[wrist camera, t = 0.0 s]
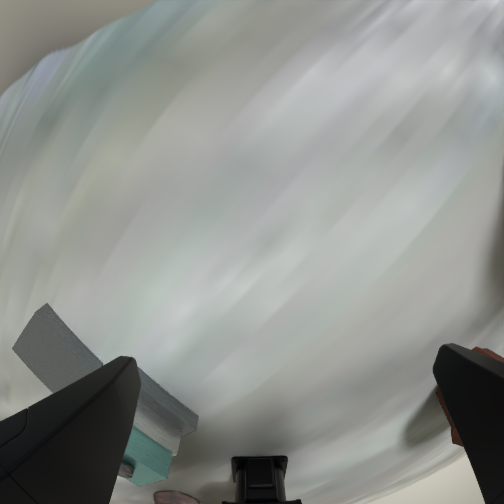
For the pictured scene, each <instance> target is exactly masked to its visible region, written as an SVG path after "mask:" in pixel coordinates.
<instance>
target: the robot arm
mask: <svg viewBox="0 0 504 504" xmlns="http://www.w3.org/2000/svg"><path fill="white" fill-rule="evenodd" d="M433 374H434V377H435V379H436V382H437V384H438V387H439V390H440V392H441V395H442V398H443V400H444V403H445V406H446V408H447V411H448V413H449V415H450V417H451V420H452V422H453V424H454V426H455V428H456V430H457V433H458V435H459V437H460V439H461V442H462V444H463V446H464V449H465V451H466V453H467V456H468V458H469V461H470V463H471V466H472V468H473V471H474V473H475V476H476V479H477V481H478V484H479V487H480V490H481V493H482V495H483V498H484V501H485V504H504V362H502V361H499V360H496V359H494V358H491V357H488V356H486V355H483V354H480V353H478V352H475V351H472V350H470V349H467V348H464V347H462V346H459V345H456V344H454V343H449V344H444V345H442V346H441V347H440V348H439V351H438V354H437V357H436V360H435V362H434V365H433ZM140 389H141V379H140V375H139V371H138V367H137V363H136V360H135V359H134V358H133V357H128V356H119V357H118V358H116V359H114V360H112V361H111V362H109V363H107V364H105V365H104V366H102V367H100V368H98V369H96V370H95V371H93V372H91V373H89V374H88V375H86V376H84V377H82V378H80V379H79V380H77V381H75V382H73V383H72V384H70V385H68V386H66V387H64V388H62V389H61V390H59V391H57V392H55V393H53V394H52V395H50V396H48V397H46V398H44V399H42V400H41V401H39V402H37V403H35V404H33V405H31V406H29V407H28V409H27V408H26V409H24V410H22V411H20V412H18V413H16V414H14V415H12V416H10V417H8V418H6V419H4V420H2V421H0V504H109V502H110V499H111V495H112V492H113V489H114V485H115V482H116V479H117V475H118V472H119V469H120V466H121V463H122V459H123V456H124V453H125V450H126V447H127V444H128V441H129V438H130V435H131V431H132V427H133V422H134V417H135V412H136V408H137V403H138V398H139V394H140ZM287 462H288V458H287V456H272V457H233V458H232V469H233V481H234V483H236V495H235V502H227V501H222V504H302V503H301V499H297V500H293V501H286V496H285V487H284V478H285V473H286V468H287Z"/></svg>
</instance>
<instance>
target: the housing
mask: <svg viewBox="0 0 504 504" xmlns="http://www.w3.org/2000/svg"><path fill="white" fill-rule="evenodd" d="M181 435H182V432H180V431H179V430H178V429H176V428H175V427H173V426H172V425H171V424H169V423H168V422H167V421H165V420H164V419H162V418H161V417H160V416H158V415H157V414H156V413H155V412H153V411H152V410H151V409H149V408H148V407H147V406H146V405H144V404H143V403H142V402H141V401H139V400H138V403H137V408H136V412H135V417H134V422H133V427H132V431H131V435H130V438H129V441H128V444H127V447H126V450H125V453H124V456H123V459H122V463H121V466H120V469H119V472H118V475H119V476H121V477H124V478H126V479H128V480H129V481H131V482H133V483H134V484H136V485H138V486H142V485H146V484H150V483H154V482H158V481H161V480H165V479H167V478H168V473H169V468H170V464H171V459H172V457H173V456H176V455H177V453H178V449H179V444H180V439H181Z"/></svg>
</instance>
